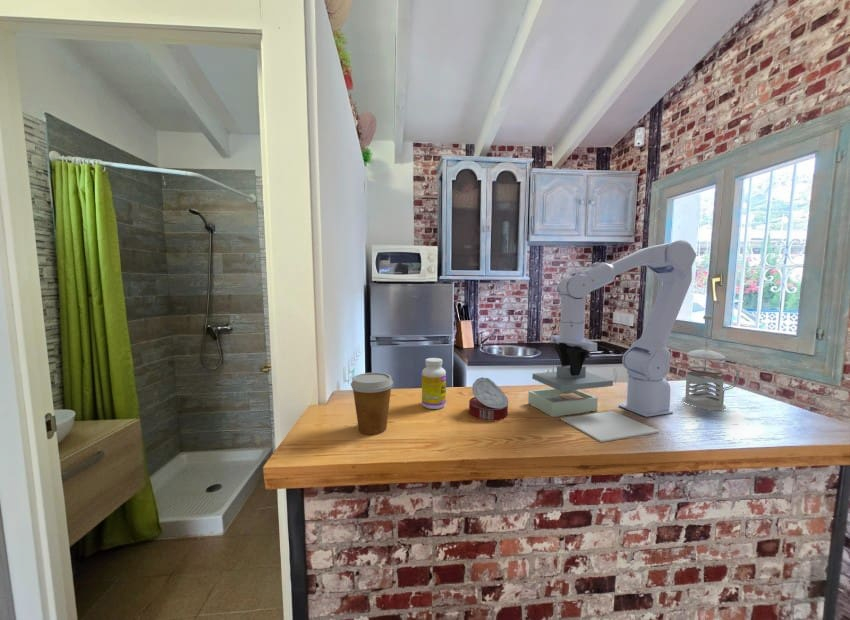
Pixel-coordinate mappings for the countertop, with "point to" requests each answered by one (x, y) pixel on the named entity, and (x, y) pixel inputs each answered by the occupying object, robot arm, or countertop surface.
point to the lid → (571, 379)
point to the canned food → (488, 401)
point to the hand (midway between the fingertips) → (571, 373)
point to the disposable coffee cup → (372, 401)
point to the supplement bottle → (433, 384)
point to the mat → (609, 426)
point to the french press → (706, 380)
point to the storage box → (562, 401)
